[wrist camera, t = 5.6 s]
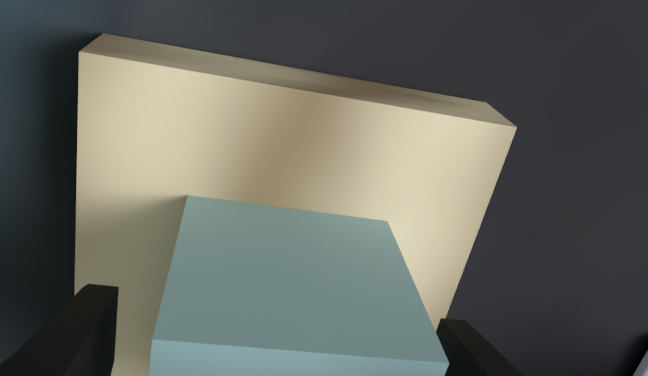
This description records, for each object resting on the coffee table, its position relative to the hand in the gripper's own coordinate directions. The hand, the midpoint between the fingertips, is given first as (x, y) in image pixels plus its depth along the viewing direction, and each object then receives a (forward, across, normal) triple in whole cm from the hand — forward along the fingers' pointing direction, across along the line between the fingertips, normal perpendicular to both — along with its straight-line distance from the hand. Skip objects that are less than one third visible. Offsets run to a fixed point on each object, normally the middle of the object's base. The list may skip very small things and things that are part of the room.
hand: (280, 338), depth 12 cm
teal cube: (+2, 0, 0) cm, 2 cm away
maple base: (+4, 0, 0) cm, 4 cm away
